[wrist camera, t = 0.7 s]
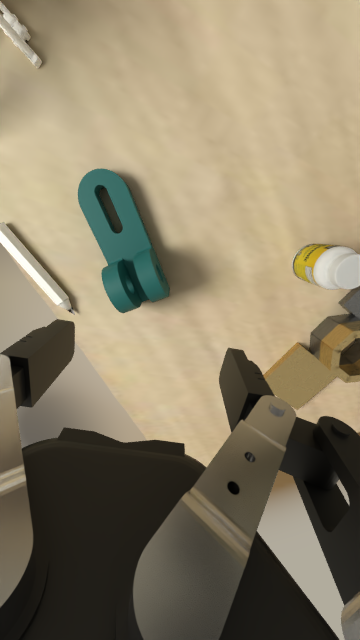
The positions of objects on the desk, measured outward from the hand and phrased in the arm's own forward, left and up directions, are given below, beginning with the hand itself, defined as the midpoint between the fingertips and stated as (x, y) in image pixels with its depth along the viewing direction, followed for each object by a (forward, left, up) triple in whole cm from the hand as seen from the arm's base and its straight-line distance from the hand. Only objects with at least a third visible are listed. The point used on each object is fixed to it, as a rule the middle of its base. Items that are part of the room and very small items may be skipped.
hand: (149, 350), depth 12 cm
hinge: (-8, +30, -25) cm, 40 cm away
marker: (+12, -16, -26) cm, 32 cm away
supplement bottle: (-14, +16, -25) cm, 33 cm away
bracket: (0, -8, -26) cm, 27 cm away
